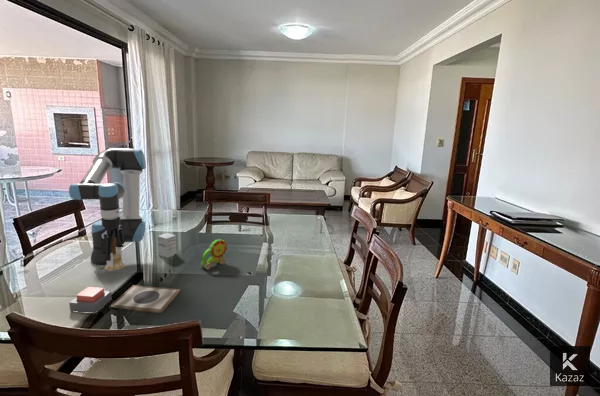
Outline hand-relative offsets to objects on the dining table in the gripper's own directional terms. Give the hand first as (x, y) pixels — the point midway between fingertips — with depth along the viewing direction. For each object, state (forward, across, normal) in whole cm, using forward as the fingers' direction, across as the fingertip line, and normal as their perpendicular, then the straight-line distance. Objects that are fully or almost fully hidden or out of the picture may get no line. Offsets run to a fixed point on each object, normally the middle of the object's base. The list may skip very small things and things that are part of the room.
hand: (114, 262), depth 155 cm
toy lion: (+14, +32, -38) cm, 52 cm away
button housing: (+13, -16, +1) cm, 21 cm away
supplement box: (+14, +40, -6) cm, 43 cm away
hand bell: (+2, 0, 0) cm, 2 cm away
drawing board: (+13, -8, -19) cm, 24 cm away
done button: (+9, -16, +1) cm, 19 cm away
